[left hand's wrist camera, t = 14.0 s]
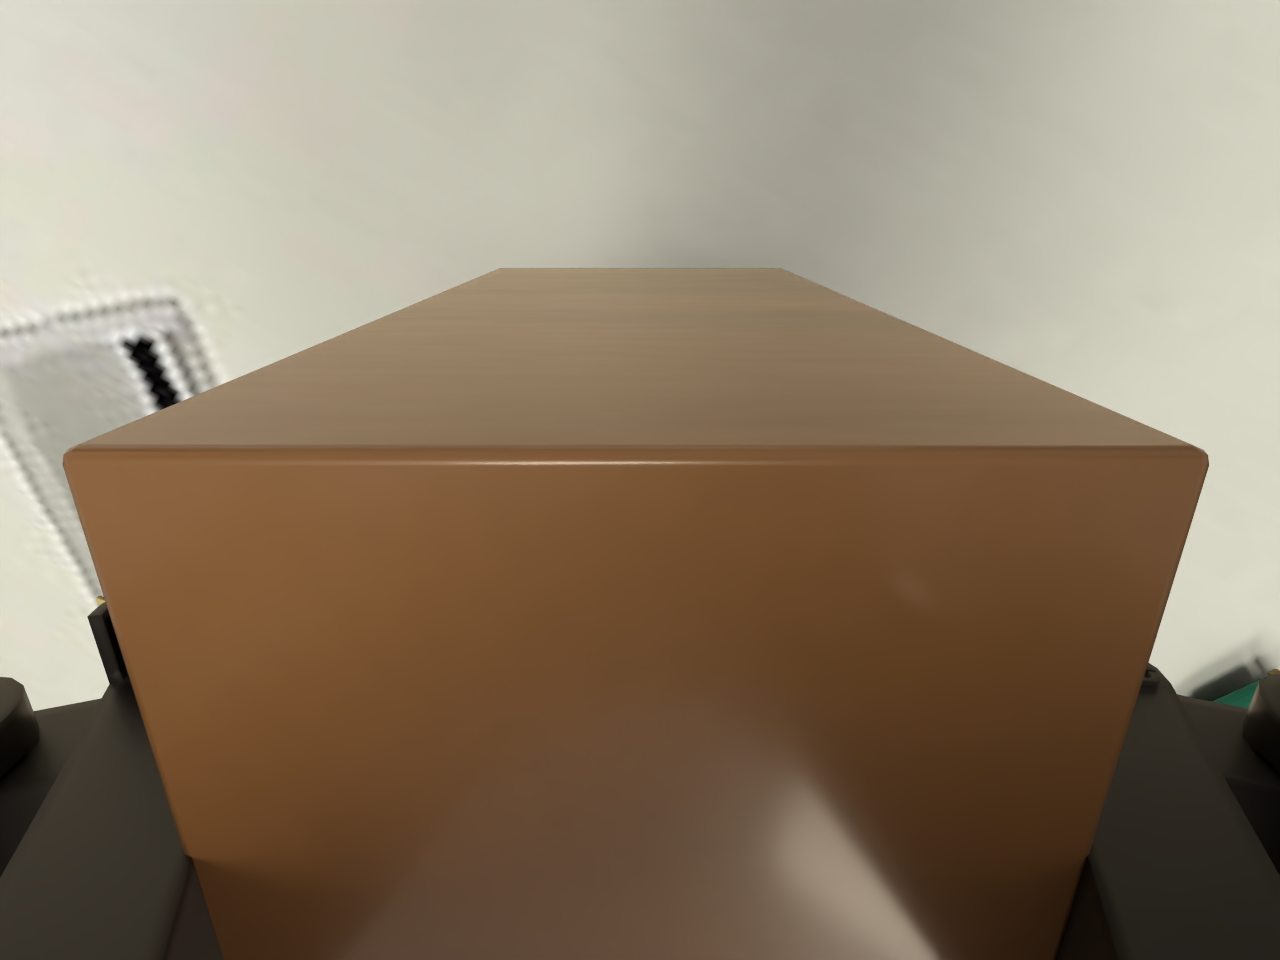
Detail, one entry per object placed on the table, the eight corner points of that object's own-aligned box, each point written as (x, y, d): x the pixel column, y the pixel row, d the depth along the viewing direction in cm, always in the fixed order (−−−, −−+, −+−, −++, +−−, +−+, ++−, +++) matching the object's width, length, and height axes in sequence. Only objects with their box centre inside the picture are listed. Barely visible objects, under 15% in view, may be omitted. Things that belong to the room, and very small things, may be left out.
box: (497, 267, 16) (48, 450, 4) (784, 268, 16) (1222, 450, 4) (548, 1000, 25) (460, 1744, 13) (732, 1001, 25) (816, 1747, 13)
